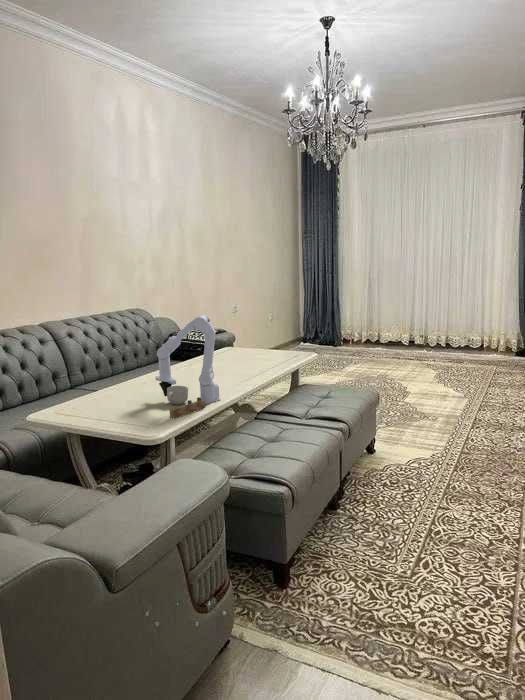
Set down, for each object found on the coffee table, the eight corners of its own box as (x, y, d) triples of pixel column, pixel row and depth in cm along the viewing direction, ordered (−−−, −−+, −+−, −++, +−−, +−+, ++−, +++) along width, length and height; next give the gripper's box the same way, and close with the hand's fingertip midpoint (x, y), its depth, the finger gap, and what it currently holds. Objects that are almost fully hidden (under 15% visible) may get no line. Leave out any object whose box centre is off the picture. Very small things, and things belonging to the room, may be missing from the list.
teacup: (176, 398, 281) (175, 384, 280) (193, 401, 276) (192, 386, 274) (158, 406, 270) (157, 390, 268) (175, 409, 264) (174, 393, 263)
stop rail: (199, 406, 267) (199, 397, 266) (205, 408, 264) (204, 398, 263) (167, 417, 252) (166, 407, 251) (172, 419, 250) (172, 408, 249)
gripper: (149, 369, 276) (151, 395, 279) (167, 373, 267) (169, 400, 270) (161, 366, 282) (162, 391, 284) (178, 370, 272) (180, 396, 275)
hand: (166, 395), depth 277 cm, fingers closed
